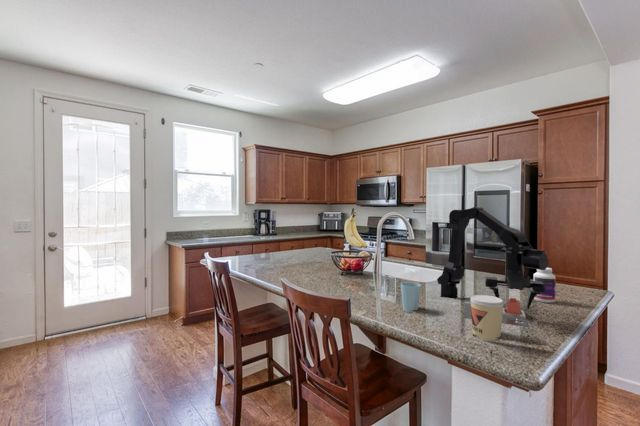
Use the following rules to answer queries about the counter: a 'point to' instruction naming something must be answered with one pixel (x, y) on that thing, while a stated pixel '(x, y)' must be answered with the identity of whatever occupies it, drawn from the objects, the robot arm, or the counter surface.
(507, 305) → the red block with knob
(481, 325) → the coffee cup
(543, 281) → the pill bottle
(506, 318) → the panel
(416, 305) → the cup
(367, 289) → the counter surface
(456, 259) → the robot arm
